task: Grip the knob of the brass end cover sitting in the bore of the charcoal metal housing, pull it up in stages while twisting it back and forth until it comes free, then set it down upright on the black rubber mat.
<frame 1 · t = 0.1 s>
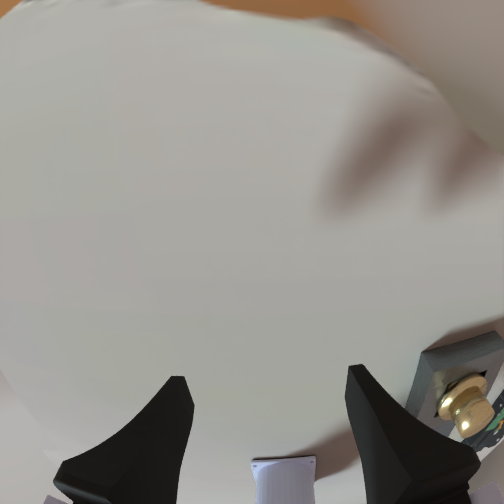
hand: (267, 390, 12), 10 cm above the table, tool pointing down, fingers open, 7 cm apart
housing: (449, 377, 25), on the table
mat: (423, 437, 29), on the table
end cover: (463, 399, 21), in the housing
disk drive: (496, 412, 29), on the table
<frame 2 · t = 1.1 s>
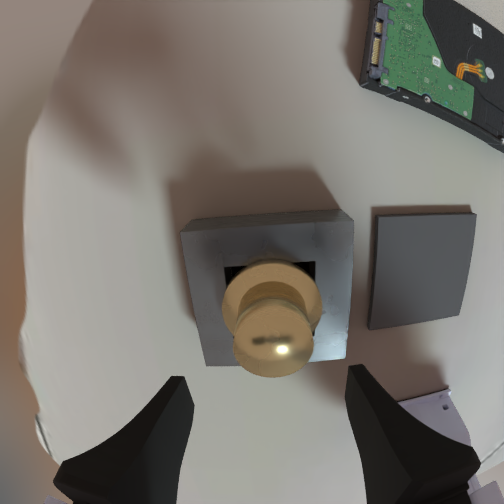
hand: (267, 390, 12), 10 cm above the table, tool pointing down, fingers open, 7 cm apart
housing: (271, 283, 21), on the table
mat: (423, 270, 20), on the table
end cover: (272, 310, 18), in the housing
disk drive: (448, 65, 15), on the table
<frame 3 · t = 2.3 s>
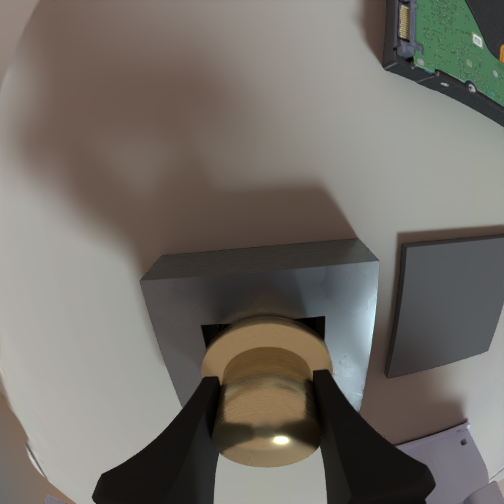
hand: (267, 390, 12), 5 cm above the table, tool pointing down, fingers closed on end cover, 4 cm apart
housing: (267, 332, 16), on the table
mat: (454, 305, 15), on the table
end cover: (267, 378, 13), in the housing, touching gripper
disk drive: (483, 48, 10), on the table
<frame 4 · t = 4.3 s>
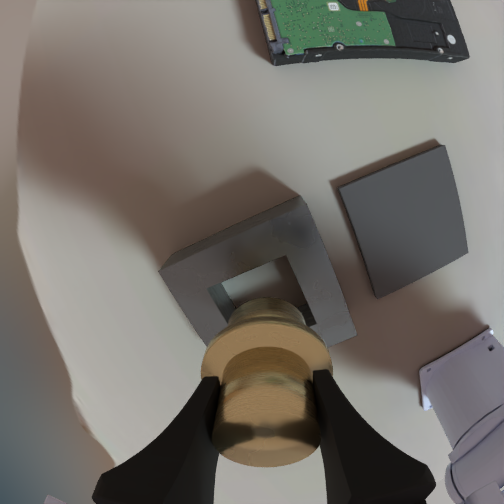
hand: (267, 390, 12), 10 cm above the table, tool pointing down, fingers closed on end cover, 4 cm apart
housing: (263, 286, 22), on the table
mat: (411, 221, 20), on the table
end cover: (266, 377, 13), point 10 cm above the table, touching gripper
disk drive: (355, 3, 15), on the table
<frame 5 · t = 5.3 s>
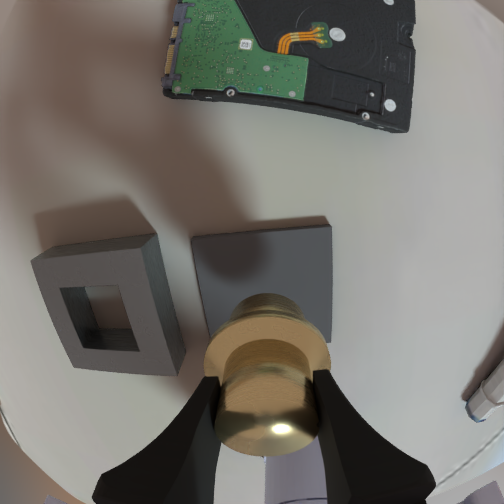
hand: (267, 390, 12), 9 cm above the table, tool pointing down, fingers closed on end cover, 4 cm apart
housing: (114, 300, 22), on the table
mat: (267, 292, 21), on the table
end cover: (267, 370, 13), point 8 cm above the table, touching gripper
disk drive: (294, 41, 16), on the table
when the fingers open (6 cm above the table, at t = 6.2 s): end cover stays where it is, resting on mat.
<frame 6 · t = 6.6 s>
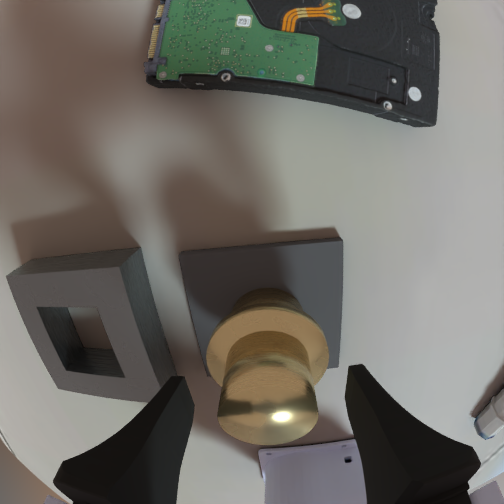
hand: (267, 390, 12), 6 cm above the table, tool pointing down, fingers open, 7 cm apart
housing: (98, 319, 19), on the table
mat: (267, 314, 18), on the table
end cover: (267, 361, 14), on the mat, point 4 cm above the table
disk drive: (300, 21, 13), on the table
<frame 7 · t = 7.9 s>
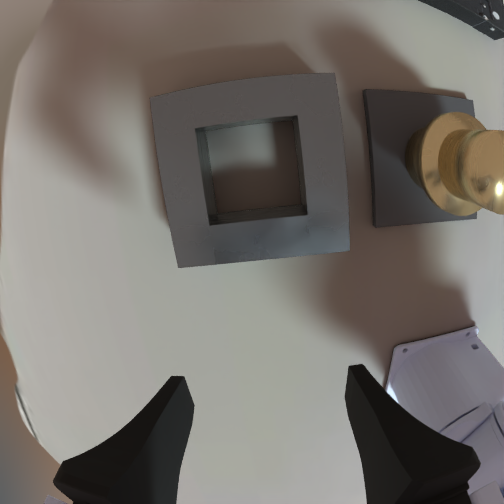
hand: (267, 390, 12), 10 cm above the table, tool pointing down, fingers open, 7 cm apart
housing: (254, 166, 18), on the table
mat: (427, 157, 17), on the table
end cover: (463, 164, 13), on the mat, point 4 cm above the table
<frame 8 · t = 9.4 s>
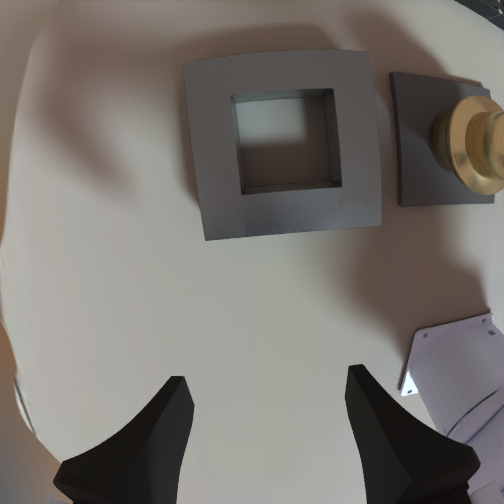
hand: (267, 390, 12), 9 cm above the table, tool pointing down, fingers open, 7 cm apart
housing: (284, 140, 17), on the table
mat: (449, 141, 16), on the table
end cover: (486, 145, 12), on the mat, point 4 cm above the table
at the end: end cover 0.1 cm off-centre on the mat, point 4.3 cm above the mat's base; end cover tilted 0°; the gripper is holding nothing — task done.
